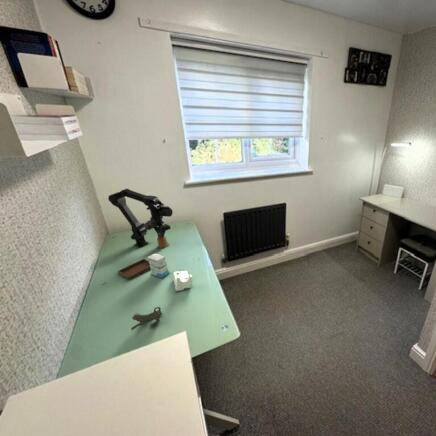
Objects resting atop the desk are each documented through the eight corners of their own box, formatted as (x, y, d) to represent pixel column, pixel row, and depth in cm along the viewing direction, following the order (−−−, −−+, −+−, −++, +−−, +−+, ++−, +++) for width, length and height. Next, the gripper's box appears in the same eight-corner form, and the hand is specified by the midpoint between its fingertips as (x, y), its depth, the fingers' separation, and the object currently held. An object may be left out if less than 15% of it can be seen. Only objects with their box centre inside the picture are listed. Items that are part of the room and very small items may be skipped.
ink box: (169, 273, 138) (165, 256, 133) (161, 278, 133) (157, 260, 129) (159, 269, 141) (154, 252, 136) (151, 274, 137) (146, 257, 132)
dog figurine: (163, 314, 109) (160, 302, 106) (163, 323, 105) (159, 311, 102) (133, 322, 105) (129, 310, 102) (131, 332, 100) (127, 319, 97)
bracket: (190, 289, 127) (192, 277, 125) (176, 290, 123) (177, 278, 121) (186, 276, 137) (187, 264, 135) (172, 277, 133) (174, 265, 131)
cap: (165, 234, 165) (164, 231, 164) (163, 237, 161) (162, 234, 160) (158, 235, 164) (158, 232, 163) (157, 237, 161) (156, 235, 160)
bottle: (157, 246, 165) (154, 234, 161) (164, 243, 169) (162, 231, 166) (162, 248, 162) (159, 237, 159) (169, 245, 167) (166, 233, 163)
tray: (118, 273, 137) (117, 270, 136) (144, 261, 149) (144, 258, 148) (129, 280, 131) (128, 277, 131) (155, 266, 143) (154, 263, 143)
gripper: (136, 216, 155) (142, 237, 161) (151, 223, 146) (157, 244, 152) (153, 211, 163) (157, 231, 170) (168, 217, 154) (173, 238, 161)
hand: (161, 236), depth 163 cm, fingers closed on cap, 4 cm apart
